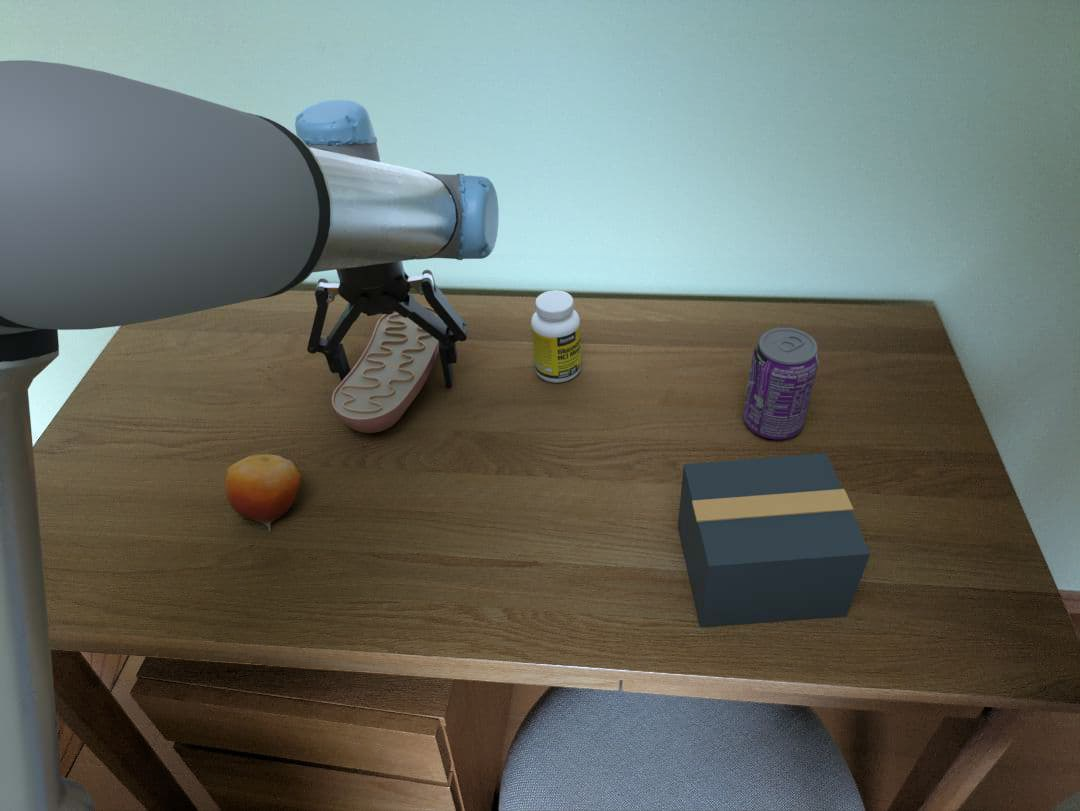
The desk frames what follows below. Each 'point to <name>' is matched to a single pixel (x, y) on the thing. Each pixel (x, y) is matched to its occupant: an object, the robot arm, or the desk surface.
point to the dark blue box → (769, 540)
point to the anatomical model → (386, 375)
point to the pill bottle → (556, 337)
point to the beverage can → (780, 383)
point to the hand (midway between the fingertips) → (399, 384)
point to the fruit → (262, 487)
